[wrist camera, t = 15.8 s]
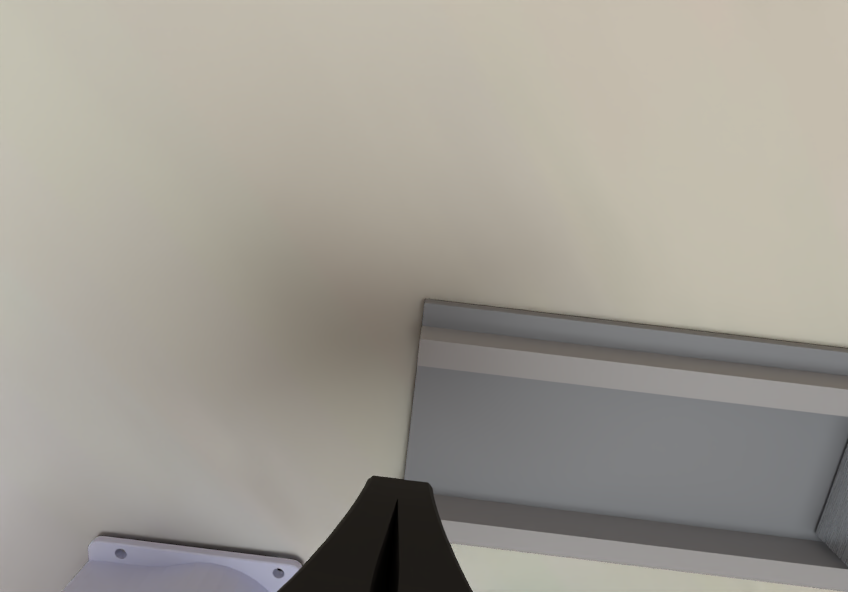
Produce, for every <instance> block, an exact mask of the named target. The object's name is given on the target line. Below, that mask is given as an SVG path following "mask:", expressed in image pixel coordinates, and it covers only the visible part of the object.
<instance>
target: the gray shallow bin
mask: <svg viewBox="0 0 848 592" xmlns="http://www.w3.org/2000/svg"><path fill="white" fill-rule="evenodd" d="M847 444H848V348H839V347H831V346H822V345H814V344H805V343H797V342H788V341H780V340H771V339H763V338H754V337H746V336H737V335H729V334H720V333H712V332H703V331H695V330H686V329H678V328H669V327H661V326H653V325H644V324H636V323H627V322H619V321H610V320H602V319H593V318H585V317H576V316H568V315H559V314H551V313H542V312H534V311H525V310H517V309H508V308H500V307H491V306H483V305H474V304H466V303H457V302H449V301H440V300H432V299H425V303H424V311H423V320H422V328H421V335H420V343H419V352H418V360H417V372H416V381H415V389H414V398H413V407H412V415H411V424H410V433H409V441H408V450H407V458H406V467H405V476H404V480H412V481H420V482H428V483H429V484H430V485H431V486H432V488H433V494H434V499H435V503H436V506H437V510H438V513H439V516H440V519H441V522H442V525H443V528H444V530H445V533H446V535H447V538H448V540H449V543H453V544H461V545H470V546H478V547H486V548H494V549H502V550H510V551H519V552H527V553H535V554H543V555H551V556H559V557H567V558H576V559H584V560H592V561H600V562H608V563H616V564H624V565H633V566H641V567H649V568H657V569H665V570H673V571H681V572H690V573H698V574H706V575H714V576H722V577H730V578H739V579H747V580H755V581H763V582H771V583H779V584H787V585H796V586H804V587H812V588H820V589H828V590H836V591H844V592H848V566H847V565H846V564H845V563H844V562H843V561H842V560H841V559H840V558H839V557H838V556H837V555H836V554H835V553H834V552H833V551H832V550H831V549H830V548H829V547H828V546H827V545H826V544H825V543H824V542H823V541H822V540H821V539H820V538H819V537H818V536H817V535H816V534H815V533H816V530H817V527H818V525H819V522H820V519H821V516H822V513H823V511H824V508H825V505H826V502H827V500H828V497H829V494H830V491H831V489H832V486H833V483H834V480H835V478H836V475H837V472H838V469H839V466H840V464H841V461H842V458H843V455H844V453H845V450H846V447H847Z"/></svg>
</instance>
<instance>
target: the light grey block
mask: <svg viewBox="0 0 848 592" xmlns="http://www.w3.org/2000/svg"><path fill="white" fill-rule="evenodd" d="M815 534H816V535H817V536H818V537H819V538H820V539H821V540H822V541H823V542H824V543H825V544H826V545H827V546H828V547H829V548H830V549H831V550H832V551H833V552H834V553H835V554H836V555H837V556H838V557H839V558H840V559H841V560H842V561H843V562H844V563H845V564H846V565H847V566H848V444H847V447H846V450H845V453H844V455H843V458H842V461H841V464H840V466H839V469H838V472H837V475H836V478H835V480H834V483H833V486H832V489H831V491H830V494H829V497H828V500H827V502H826V505H825V508H824V511H823V513H822V516H821V519H820V522H819V525H818V527H817V530H816V533H815Z"/></svg>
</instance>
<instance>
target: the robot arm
mask: <svg viewBox="0 0 848 592" xmlns="http://www.w3.org/2000/svg"><path fill="white" fill-rule="evenodd" d="M122 549H123V550H124V551H125V552H124V551H123V550H122ZM88 558H89V561H88V562H87V563H86V564H85V565H84V566H83V567H82V569H81V570H80V571H79V572H78V573H77V574H76V575H75V576H74V578H73V579H72V580H71V581H70V582H69V583H68V584H67V585H66V586H65V588H64V589H63V590H62V591H61V592H473V591H472V590H471V588H470V586H469V584H468V582H467V580H466V578H465V576H464V574H463V572H462V570H461V568H460V566H459V563H458V561H457V559H456V557H455V555H454V552H453V550H452V547H451V545H450V543H449V540H448V538H447V535H446V533H445V530H444V528H443V525H442V522H441V519H440V516H439V513H438V510H437V506H436V503H435V499H434V494H433V488H432V486H431V485H430V484H429V483H428V482H420V481H412V480H404V479H396V478H388V477H379V476H372V477H371V478H370V479H368V480H367V482H366V485H365V486H364V488H363V490H362V492H361V493H360V495H359V496H358V498H357V500H356V501H355V503H354V504H353V505H352V507H351V508H350V510H349V511H348V513H347V514H346V515H345V517H344V518H343V519H342V520H341V522H340V523H339V524H338V526H337V527H336V528H335V529H334V531H333V532H332V533H331V535H330V536H329V537H328V538H327V539H326V541H325V542H324V543H323V544H322V545H321V546H320V547H319V548H318V550H317V551H316V552H315V553H314V554H313V555H312V556H311V557H310V559H309V560H308V561H307V562H306V563H305V564H304V565H303V566H302V565H301V563H299V562H298V561H296V560H293V559H285V558H277V557H269V556H261V555H253V554H245V553H237V552H229V551H221V550H213V549H204V548H196V547H188V546H180V545H172V544H164V543H156V542H148V541H140V540H132V539H123V538H115V537H107V536H98V537H96V538H95V539H94V540H93V541H92V542H91V543H90V544H89V545H88ZM277 568H279V569H282V570H283V571H278V570H277Z"/></svg>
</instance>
